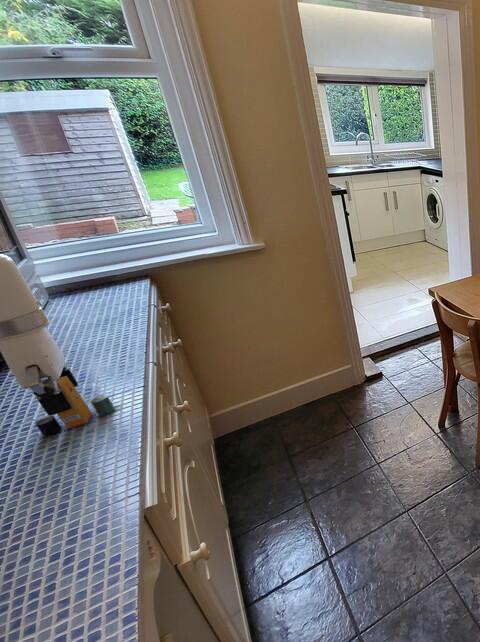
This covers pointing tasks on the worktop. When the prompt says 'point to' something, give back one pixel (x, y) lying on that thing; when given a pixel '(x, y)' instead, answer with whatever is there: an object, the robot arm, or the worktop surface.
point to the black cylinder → (48, 426)
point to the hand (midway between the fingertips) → (64, 399)
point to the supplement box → (72, 404)
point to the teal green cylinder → (102, 405)
